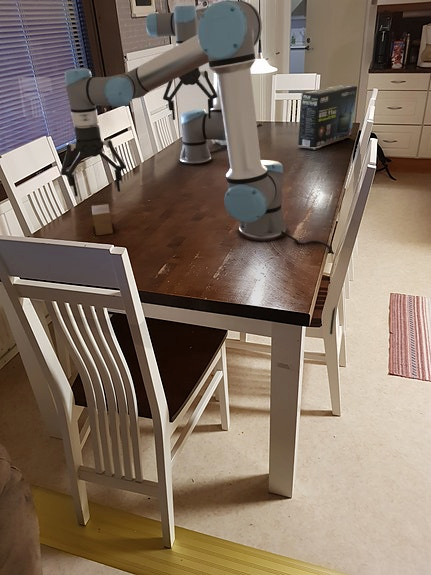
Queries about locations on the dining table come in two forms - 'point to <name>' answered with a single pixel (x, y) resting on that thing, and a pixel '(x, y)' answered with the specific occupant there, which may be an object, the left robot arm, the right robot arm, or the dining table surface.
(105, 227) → the brick
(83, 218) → the dining table surface
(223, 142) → the fossil
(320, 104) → the router box
